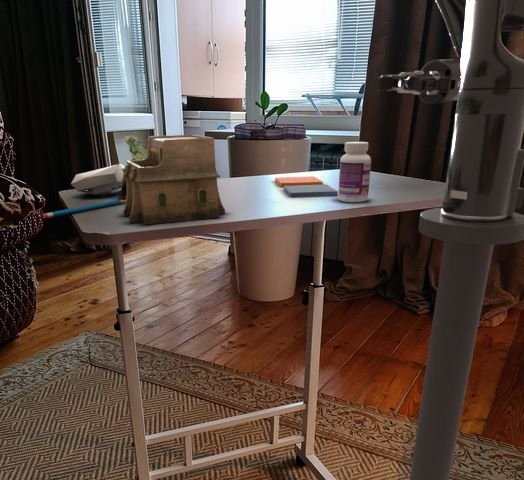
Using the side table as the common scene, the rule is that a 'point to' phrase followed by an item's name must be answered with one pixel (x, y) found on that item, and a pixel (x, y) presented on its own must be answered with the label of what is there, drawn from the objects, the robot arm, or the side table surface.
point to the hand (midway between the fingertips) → (398, 84)
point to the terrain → (136, 148)
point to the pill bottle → (354, 173)
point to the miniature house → (173, 181)
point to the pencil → (81, 209)
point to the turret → (99, 180)
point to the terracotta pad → (298, 181)
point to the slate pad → (310, 190)
